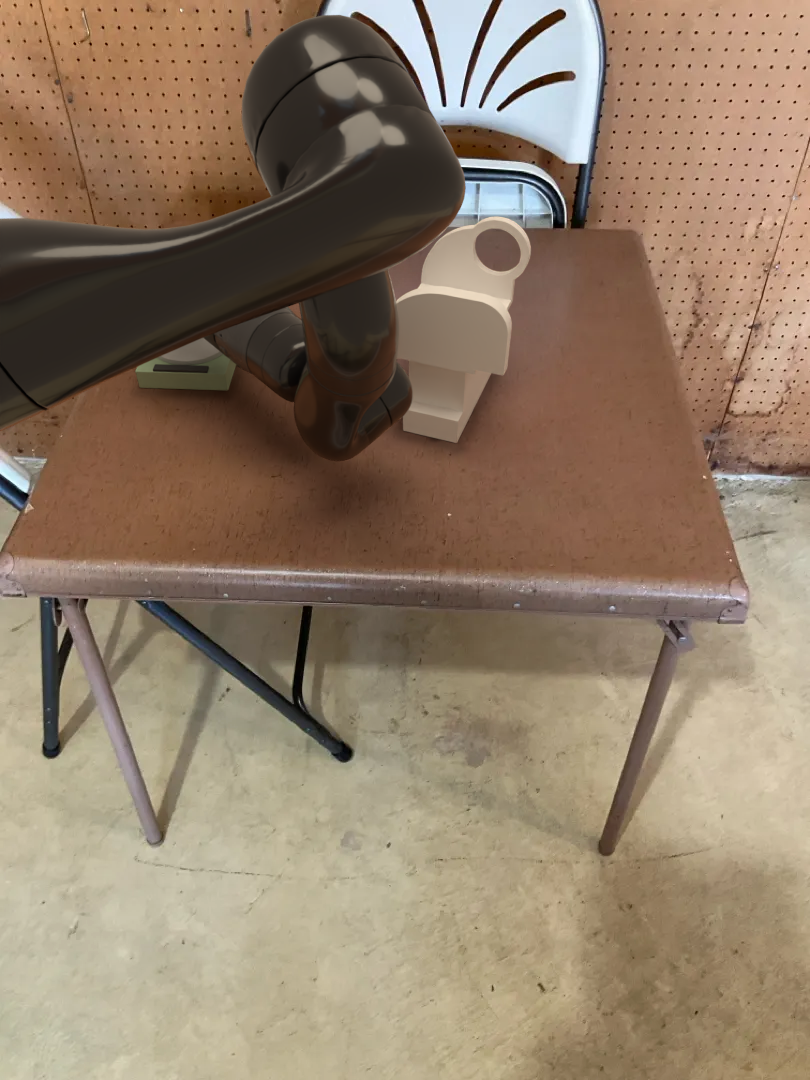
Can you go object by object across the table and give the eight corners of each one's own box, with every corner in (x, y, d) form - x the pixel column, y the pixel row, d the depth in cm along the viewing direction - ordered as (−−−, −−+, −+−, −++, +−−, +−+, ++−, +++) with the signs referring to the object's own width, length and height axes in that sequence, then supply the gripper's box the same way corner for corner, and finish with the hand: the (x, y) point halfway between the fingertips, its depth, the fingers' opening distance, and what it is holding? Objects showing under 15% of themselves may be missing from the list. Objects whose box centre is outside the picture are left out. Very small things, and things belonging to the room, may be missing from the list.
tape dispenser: (422, 354, 99) (425, 204, 86) (529, 376, 96) (549, 224, 83) (378, 425, 90) (374, 270, 76) (495, 453, 87) (511, 296, 73)
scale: (228, 390, 94) (224, 369, 92) (139, 387, 94) (133, 366, 92) (247, 331, 102) (244, 310, 100) (165, 328, 102) (160, 308, 100)
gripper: (307, 268, 83) (218, 210, 92) (178, 320, 77) (96, 252, 86) (314, 334, 88) (229, 273, 97) (194, 387, 82) (115, 317, 91)
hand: (167, 264), depth 91 cm, fingers closed on light bulb, 6 cm apart
